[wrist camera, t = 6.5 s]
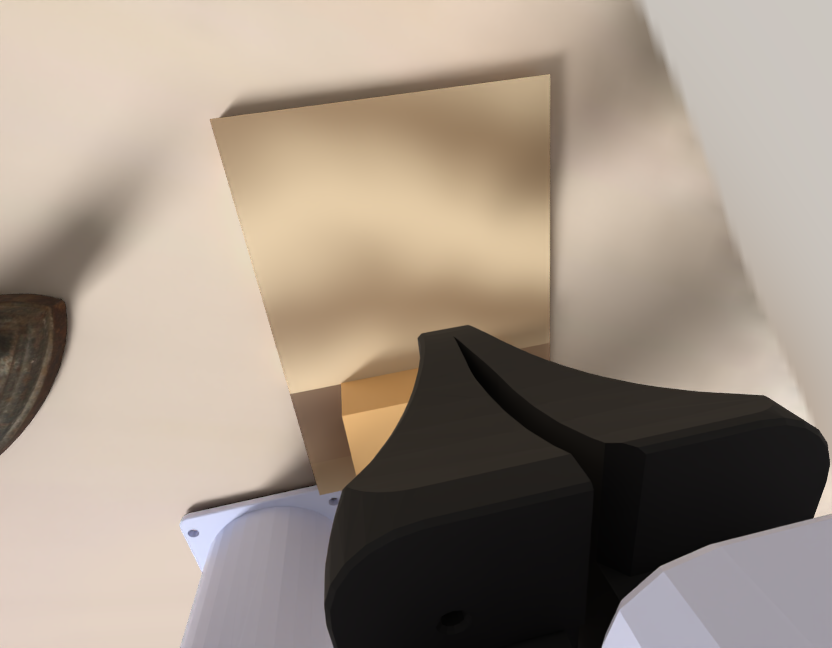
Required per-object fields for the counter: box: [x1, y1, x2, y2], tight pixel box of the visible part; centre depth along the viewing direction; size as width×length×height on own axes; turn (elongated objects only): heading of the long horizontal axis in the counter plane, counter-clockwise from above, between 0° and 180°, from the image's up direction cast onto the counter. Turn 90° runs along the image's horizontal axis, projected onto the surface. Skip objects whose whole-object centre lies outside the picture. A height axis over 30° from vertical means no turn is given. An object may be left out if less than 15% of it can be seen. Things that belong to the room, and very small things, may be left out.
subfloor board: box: [210, 74, 550, 495], centre depth 19 cm, size 17×12×1 cm
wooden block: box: [341, 368, 418, 476], centre depth 20 cm, size 6×8×2 cm
